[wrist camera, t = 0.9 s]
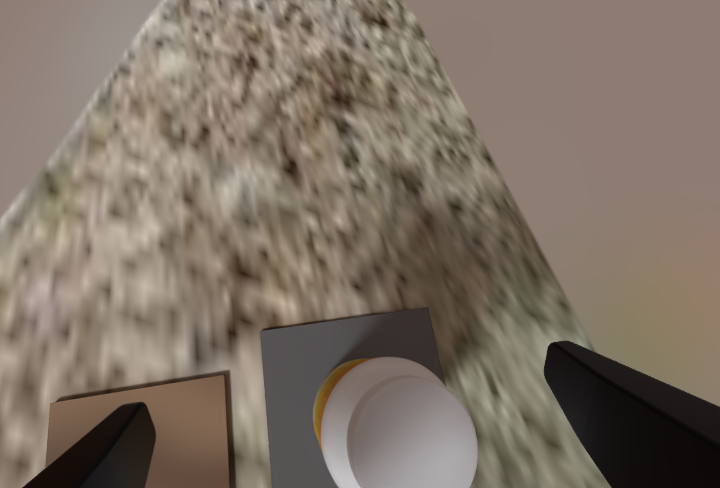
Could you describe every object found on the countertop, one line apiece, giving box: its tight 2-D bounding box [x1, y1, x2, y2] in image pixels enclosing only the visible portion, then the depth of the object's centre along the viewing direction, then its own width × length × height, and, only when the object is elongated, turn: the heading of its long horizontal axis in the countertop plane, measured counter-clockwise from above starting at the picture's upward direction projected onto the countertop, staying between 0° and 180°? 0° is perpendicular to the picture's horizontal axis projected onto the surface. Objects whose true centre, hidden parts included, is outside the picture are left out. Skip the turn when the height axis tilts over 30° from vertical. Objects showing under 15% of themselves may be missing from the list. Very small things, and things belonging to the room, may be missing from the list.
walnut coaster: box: [45, 375, 231, 488], centre depth 18 cm, size 8×8×1 cm
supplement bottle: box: [313, 357, 478, 488], centre depth 16 cm, size 5×5×10 cm
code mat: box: [260, 307, 444, 488], centre depth 20 cm, size 10×10×1 cm
